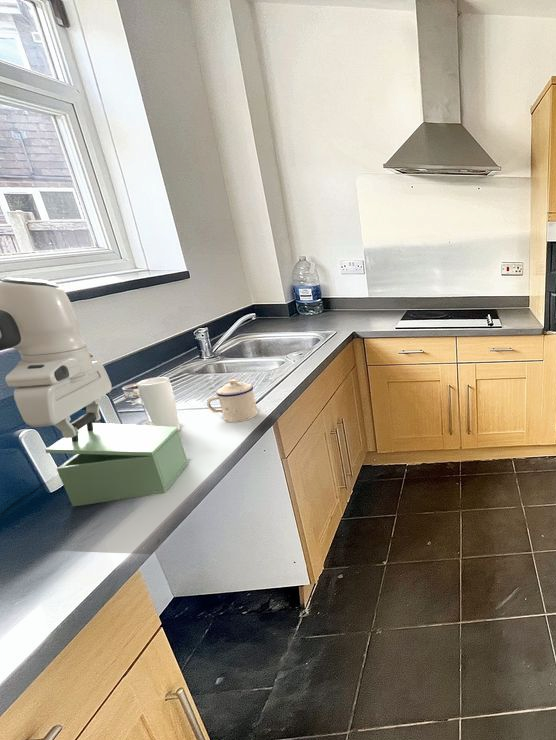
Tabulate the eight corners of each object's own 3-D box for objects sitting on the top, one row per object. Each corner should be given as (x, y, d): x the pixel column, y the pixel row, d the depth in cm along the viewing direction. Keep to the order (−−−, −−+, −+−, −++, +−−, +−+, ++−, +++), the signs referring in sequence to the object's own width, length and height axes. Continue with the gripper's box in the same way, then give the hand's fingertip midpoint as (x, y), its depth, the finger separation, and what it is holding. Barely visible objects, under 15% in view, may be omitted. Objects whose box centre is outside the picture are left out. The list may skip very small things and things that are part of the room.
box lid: (45, 453, 79) (43, 430, 78) (86, 425, 90) (84, 405, 89) (152, 455, 85) (151, 434, 83) (177, 430, 96) (177, 410, 95)
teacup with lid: (259, 408, 130) (251, 373, 126) (258, 419, 123) (250, 382, 119) (213, 416, 125) (203, 379, 121) (209, 427, 117) (199, 389, 113)
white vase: (152, 431, 115) (135, 380, 110) (182, 424, 120) (168, 375, 114) (154, 439, 111) (136, 387, 105) (185, 431, 115) (170, 381, 110)
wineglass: (151, 430, 116) (138, 390, 112) (128, 429, 116) (114, 389, 112) (171, 419, 122) (159, 381, 118) (149, 419, 123) (137, 381, 119)
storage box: (72, 506, 83) (56, 468, 80) (108, 474, 94) (94, 439, 92) (165, 492, 88) (152, 456, 85) (188, 463, 99) (178, 430, 96)
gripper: (73, 351, 89) (94, 410, 93) (-4, 381, 70) (27, 453, 75) (109, 349, 90) (128, 407, 95) (44, 378, 72) (71, 449, 77)
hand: (83, 428), depth 85 cm, fingers closed on box lid, 6 cm apart
